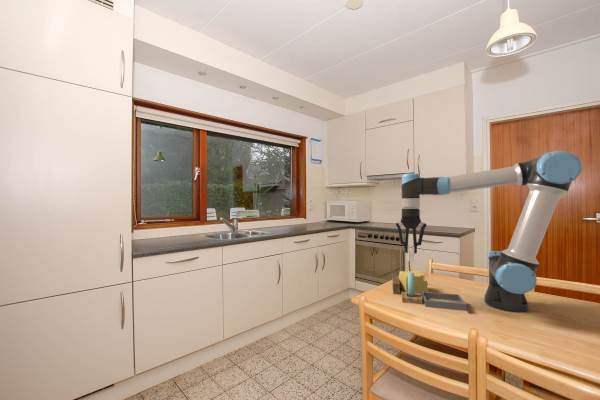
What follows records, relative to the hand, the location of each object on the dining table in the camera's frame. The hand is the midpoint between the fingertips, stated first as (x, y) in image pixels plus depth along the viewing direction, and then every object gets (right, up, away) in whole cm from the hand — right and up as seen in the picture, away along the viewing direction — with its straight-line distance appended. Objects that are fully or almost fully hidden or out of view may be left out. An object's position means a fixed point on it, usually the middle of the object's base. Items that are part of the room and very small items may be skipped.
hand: (410, 260), depth 122 cm
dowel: (0, -18, 0) cm, 18 cm away
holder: (0, -19, 0) cm, 19 cm away
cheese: (+5, -19, +11) cm, 22 cm away
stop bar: (-2, -19, +13) cm, 23 cm away
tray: (+12, -19, -5) cm, 23 cm away
